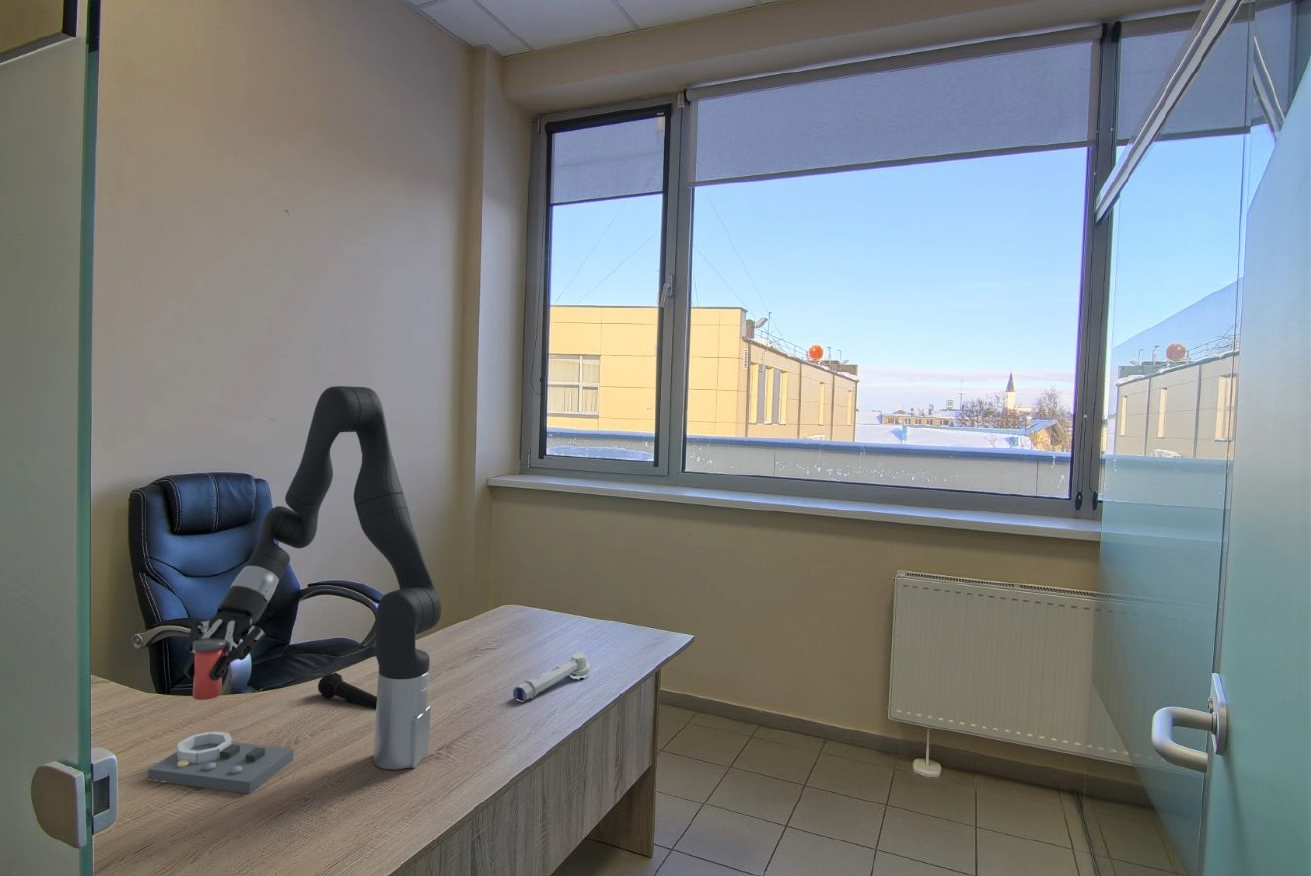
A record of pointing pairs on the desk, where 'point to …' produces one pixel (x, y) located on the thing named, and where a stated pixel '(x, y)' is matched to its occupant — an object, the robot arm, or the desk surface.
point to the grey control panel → (220, 763)
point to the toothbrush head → (552, 677)
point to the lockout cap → (207, 667)
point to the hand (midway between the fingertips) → (200, 676)
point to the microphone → (344, 690)
